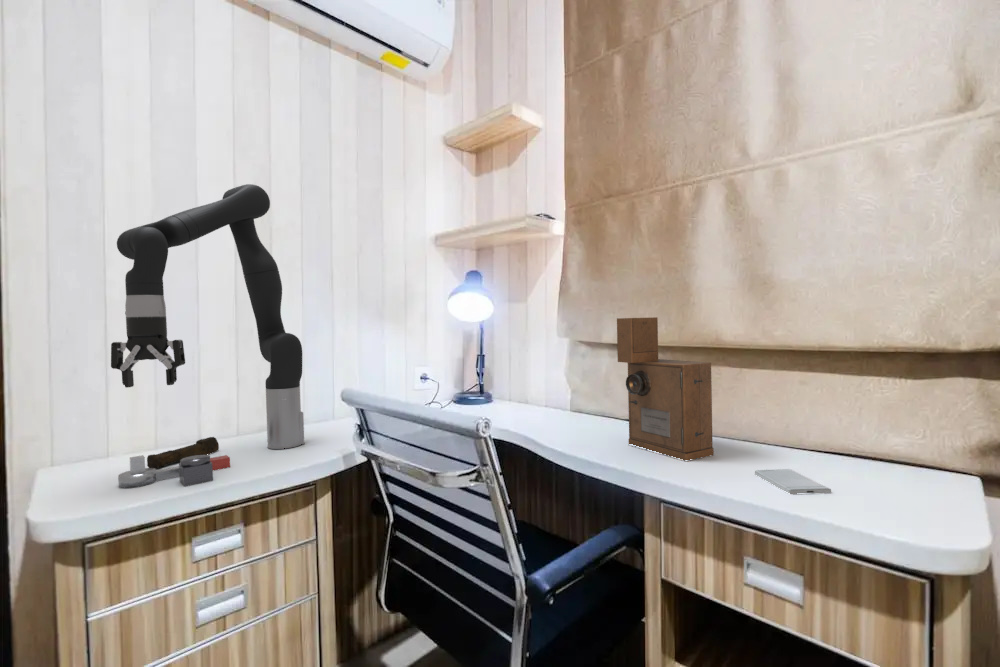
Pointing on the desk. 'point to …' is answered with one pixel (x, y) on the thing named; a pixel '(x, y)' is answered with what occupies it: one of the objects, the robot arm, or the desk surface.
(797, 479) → the hard drive
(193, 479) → the block with domed cap
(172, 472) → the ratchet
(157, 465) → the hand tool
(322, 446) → the desk surface
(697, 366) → the vintage camera
